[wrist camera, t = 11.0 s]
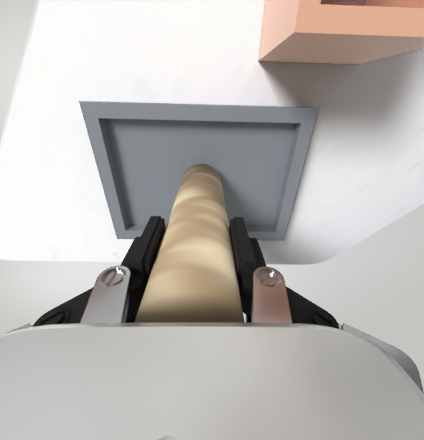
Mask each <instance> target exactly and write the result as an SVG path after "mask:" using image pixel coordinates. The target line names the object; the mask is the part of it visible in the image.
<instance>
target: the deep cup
mask: <svg viewBox="0 0 424 440" xmlns="http://www.w3.org/2000/svg"><path fill="white" fill-rule="evenodd" d="M422 48H424V0H365V3H364V6H355V5H331V4H321V0H265V6H264V15H263V24H262V33H261V41H260V50H259V59H258V61H275V62H305V63H334V64H361V63H365V62H369V61H373V60H377V59H381V58H385V57H390V56H394V55H398V54H402V53H406V52H410V51H414V50H418V49H422Z"/></svg>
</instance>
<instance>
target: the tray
mask: <svg viewBox="0 0 424 440" xmlns="http://www.w3.org/2000/svg"><path fill="white" fill-rule="evenodd" d="M79 103H80V106H81V110H82V113H83V117H84V121H85V124H86V128H87V131H88V135H89V139H90V142H91V146H92V149H93V153H94V157H95V160H96V164H97V167H98V171H99V175H100V178H101V182H102V185H103V189H104V193H105V196H106V200H107V204H108V207H109V211H110V214H111V218H112V222H113V225H114V229H115V232H116V236H117V239H135V238H136V237H141V235H142V233H143V231H144V229H145V227H146V225H147V223H148V221H149V219H150V217H151V216H161V218H164V220H165V228H166V226H167V223H168V220H169V217H170V214H171V211H172V208H173V205H174V202H175V199H176V196H177V193H178V190H179V187H180V185H181V182H182V179H183V176H184V173H185V172H186V171H187V169H189V168H190V167H191V166H193V165H196V164H207V165H210V166H212V167H213V168H215V169H216V170H217V171H218V173H219V175H220V177H221V181H222V188H223V194H224V200H225V206H226V212H227V218H228V224H229V228H230V219H233V218H234V217H243V219H244V222H245V225H246V229H247V232H248V236H249V238H256V239H257V240H284V238H285V234H286V230H287V227H288V223H289V219H290V215H291V211H292V208H293V204H294V200H295V196H296V192H297V189H298V185H299V181H300V177H301V173H302V170H303V166H304V162H305V158H306V154H307V151H308V147H309V143H310V139H311V135H312V132H313V128H314V124H315V120H316V116H317V113H318V109H319V108H311V107H277V106H240V105H203V104H167V103H130V102H93V101H79Z"/></svg>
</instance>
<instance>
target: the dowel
mask: <svg viewBox="0 0 424 440" xmlns="http://www.w3.org/2000/svg"><path fill="white" fill-rule="evenodd" d="M175 322H219V323H244V317H243V311H242V304H241V298H240V292H239V286H238V280H237V274H236V268H235V262H234V255H233V249H232V243H231V237H230V231H229V224H228V218H227V212H226V206H225V200H224V194H223V188H222V181H221V177H220V175H219V173H218V171H217V170H216V169H215V168H213V167H212V166H210V165H207V164H196V165H193V166H191V167H190V168H189V169H187V171H186V172H185V173H184V176H183V179H182V182H181V185H180V187H179V190H178V193H177V196H176V199H175V202H174V205H173V208H172V211H171V214H170V217H169V220H168V223H167V226H166V229H165V232H164V235H163V238H162V241H161V244H160V247H159V250H158V253H157V256H156V259H155V262H154V265H153V268H152V271H151V274H150V277H149V280H148V283H147V286H146V289H145V292H144V295H143V298H142V301H141V304H140V307H139V310H138V313H137V316H136V319H135V323H175Z"/></svg>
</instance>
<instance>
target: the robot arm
mask: <svg viewBox="0 0 424 440" xmlns="http://www.w3.org/2000/svg"><path fill="white" fill-rule="evenodd" d="M165 229H166V228H165V220H164V218H161V216H151V217H150V219H149V221H148V223H147V225H146V227H145V229H144V231H143V233H142V235H141V237H136V238H135V239H134V241H133V243H132V245H131V247H130V249H129V250H128V252H127V254H126V256H125V258H124V260H123V262H122V264H121V265H120V266H114V267H111V268H108V269H106V270H104V271H103V272H102V273H101V274H100V275H99V276H98V278H97V280H96V282H95V285H94V287H93V288H92V289H89V290H88V291H86V292H84V293H82V294H80V295H78V296H76V297H74V298H73V299H71V300H69V301H67V302H65V303H63V304H61V305H60V306H58V307H56V308H54V309H52V310H50V311H48V312H47V313H45V314H44V315H43V316H41V317H40V318H39V319H38V320H37V321H36V322H35V324H34V325H32V326H31V325H30V324H27V325H24V326H22V327H19V328H17V329H15V330H12V331H10V332H7V333H5V334H3V335H0V440H424V392H423V388H422V384H421V379H420V375H419V371H418V369H417V367H416V365H415V363H414V362H413V361H412V359H411V358H410V357H409V356H408V355H406V354H405V353H404V352H403V351H401V350H400V349H398V348H396V347H394V346H392V345H390V344H388V343H386V342H383V341H381V340H379V339H377V338H375V337H373V336H370V335H368V334H366V333H364V332H362V331H360V330H358V329H355V328H353V327H351V326H349V325H347V324H345V323H343V325H340V324H338V323H337V322H336V319H335V318H334V317H333V316H332V315H331V314H330V313H328V312H327V311H325V310H324V309H322V308H320V307H318V306H317V305H315V304H314V303H312V302H311V301H309V300H307V299H306V298H304V297H302V296H301V295H299V294H298V293H296V292H294V291H293V290H291V289H289V288H288V287H286V286H285V281H284V278H283V276H282V274H281V273H280V272H279V271H277V270H276V269H274V268H270V267H266V264H265V261H264V258H263V255H262V252H261V249H260V247H259V244H258V241H257V239H256V238H249V236H248V232H247V229H246V225H245V222H244V219H243V217H234V218H233V219H230V228H229V231H230V237H231V243H232V249H233V255H234V262H235V268H236V274H237V280H238V286H239V292H240V298H241V304H242V311H243V312H244V313H245V314H246V322H245V323H219V322H175V323H135V319H136V316H137V313H138V310H139V307H140V304H141V301H142V298H143V295H144V292H145V289H146V286H147V283H148V280H149V277H150V274H151V271H152V268H153V265H154V262H155V259H156V256H157V253H158V250H159V247H160V244H161V241H162V238H163V235H164V232H165Z"/></svg>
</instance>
